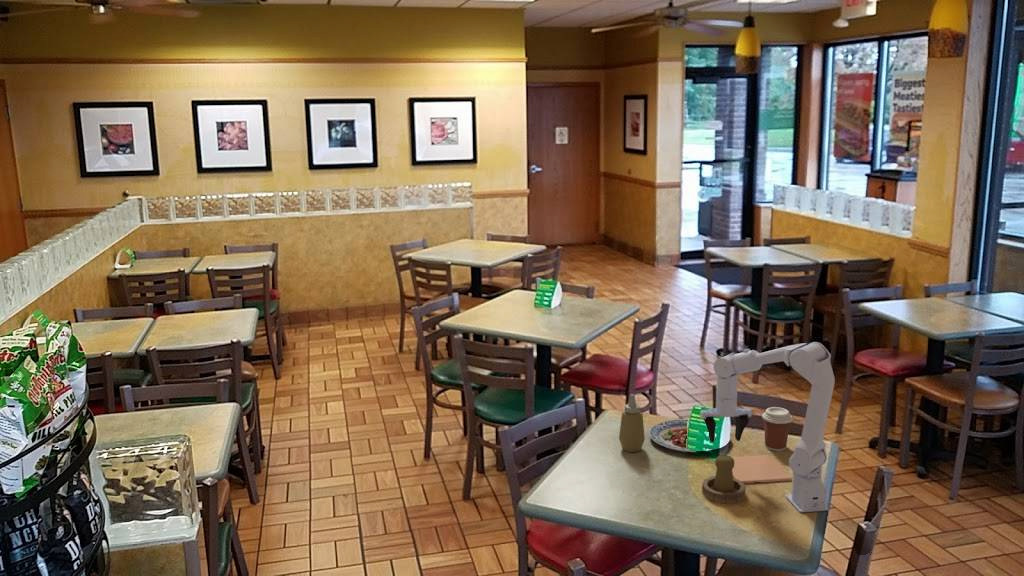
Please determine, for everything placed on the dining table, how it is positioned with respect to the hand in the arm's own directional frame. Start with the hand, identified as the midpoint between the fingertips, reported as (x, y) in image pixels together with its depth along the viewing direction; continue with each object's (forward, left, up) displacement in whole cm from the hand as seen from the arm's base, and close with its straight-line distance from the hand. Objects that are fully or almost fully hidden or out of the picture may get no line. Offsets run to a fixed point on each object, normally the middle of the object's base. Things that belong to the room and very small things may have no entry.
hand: (724, 440), depth 239 cm
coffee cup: (+16, -23, -11) cm, 29 cm away
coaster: (+1, -10, -10) cm, 14 cm away
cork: (-12, +4, -11) cm, 17 cm away
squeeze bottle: (+21, +22, -11) cm, 32 cm away
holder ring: (-12, +4, -10) cm, 17 cm away
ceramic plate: (+25, +2, -11) cm, 27 cm away
